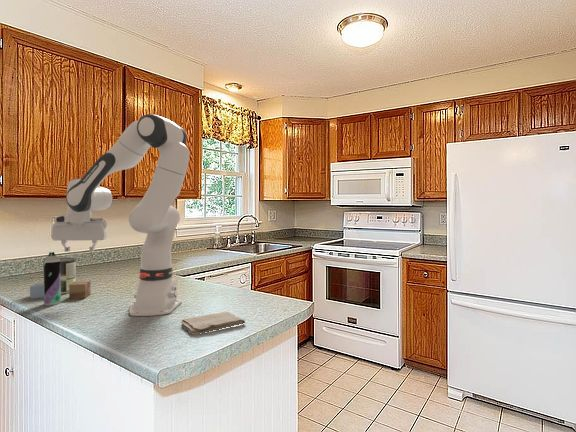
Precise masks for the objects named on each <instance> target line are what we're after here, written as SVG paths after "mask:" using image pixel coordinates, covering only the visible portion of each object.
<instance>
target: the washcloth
mask: <svg viewBox="0 0 576 432" xmlns="http://www.w3.org/2000/svg"><path fill="white" fill-rule="evenodd" d="M180 323H181V325H183V326H182V328H183V329H184V328H185V329H186V330H185V329H184V330H185V331H187V330H188V331H187V332H188V333H189V332H190V333H191V334H192V335H191V334H190V333H189V334H190V335H191V336H197V335H196V334H200V333H205V332H209V331H213V330H219V329H222V328H226V327H231V326H234V325H239V324H243V323H245V324H246V321H245V319H244V318H241V317H239V316H236V315H235V314H233V313H231V312H229V311H223V312H222V311H221V312H218V313H210V314H203V315H199V316H193V317H188V318H183V319H181V321H180ZM181 325H180V326H181Z"/></svg>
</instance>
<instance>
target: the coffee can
mask: <svg viewBox="0 0 576 432" xmlns="http://www.w3.org/2000/svg"><path fill="white" fill-rule="evenodd" d="M59 258H60V280H61V295H63V294H69V284H71V283H73V282H75V281H76V279H77V275H76V271H77V270H76V269H77V267H76V263H77V262H76V261H77V259H76V258H75V257H59Z"/></svg>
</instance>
